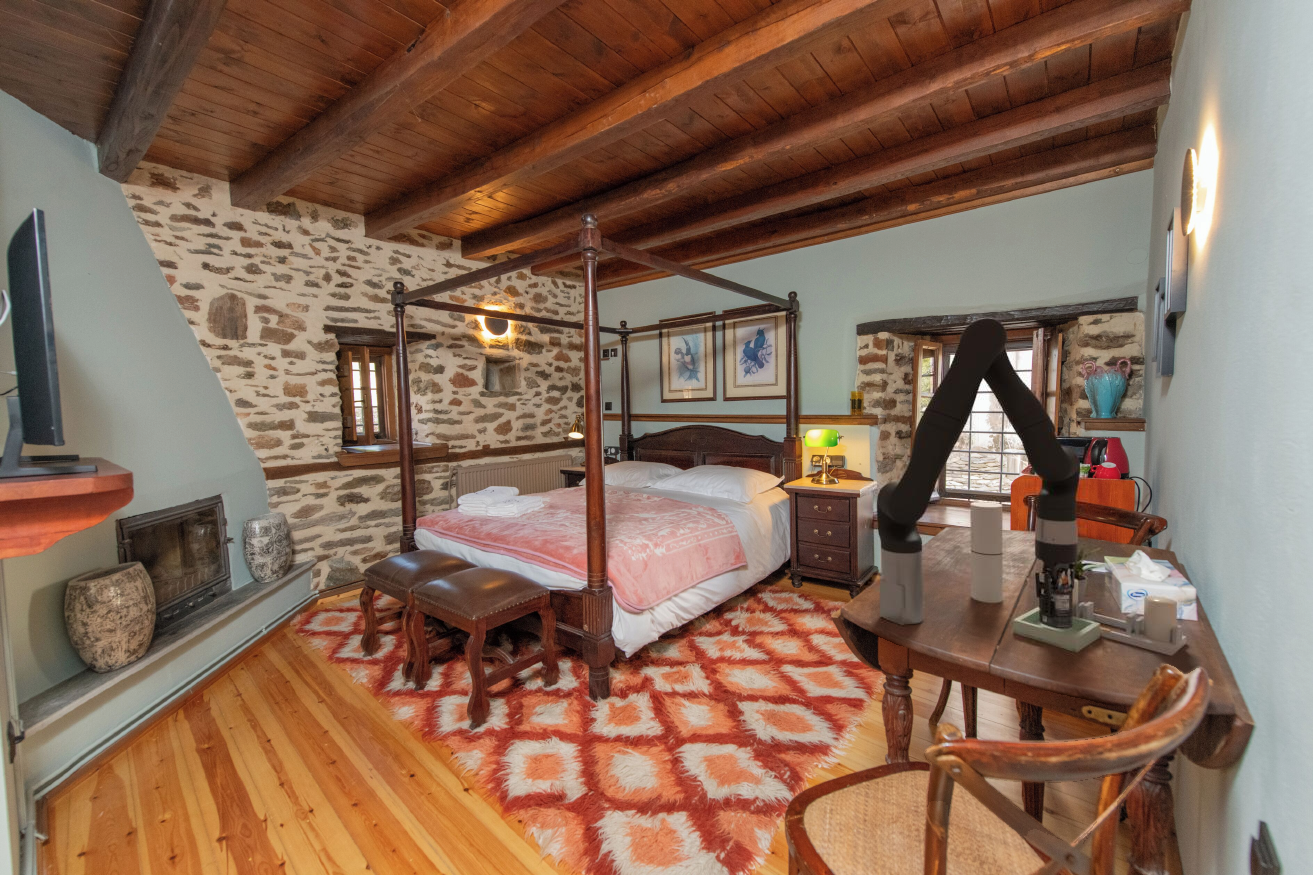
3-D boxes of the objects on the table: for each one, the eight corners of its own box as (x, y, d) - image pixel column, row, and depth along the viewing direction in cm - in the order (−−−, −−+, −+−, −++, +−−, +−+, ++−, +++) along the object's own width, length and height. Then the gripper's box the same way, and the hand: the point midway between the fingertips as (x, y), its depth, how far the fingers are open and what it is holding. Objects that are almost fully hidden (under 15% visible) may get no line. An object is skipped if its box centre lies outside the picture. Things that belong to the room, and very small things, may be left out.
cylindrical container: (971, 600, 140) (971, 506, 139) (970, 591, 147) (969, 501, 145) (1004, 604, 137) (1003, 507, 135) (1001, 594, 143) (1000, 502, 142)
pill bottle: (1047, 616, 123) (1048, 568, 122) (1078, 625, 118) (1078, 575, 117) (1033, 622, 120) (1033, 573, 119) (1063, 632, 115) (1064, 580, 114)
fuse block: (1171, 655, 108) (1172, 609, 107) (1041, 619, 127) (1041, 580, 126) (1186, 643, 112) (1186, 599, 112) (1058, 610, 132) (1058, 572, 131)
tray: (1076, 652, 111) (1076, 638, 111) (1013, 632, 121) (1013, 619, 121) (1100, 636, 117) (1100, 623, 117) (1037, 619, 127) (1037, 606, 127)
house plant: (1017, 594, 143) (1017, 534, 142) (1052, 585, 148) (1052, 527, 147) (1075, 612, 130) (1075, 546, 129) (1111, 602, 135) (1112, 539, 134)
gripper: (1061, 547, 111) (1061, 627, 112) (1090, 536, 118) (1089, 610, 119) (1021, 540, 117) (1021, 615, 118) (1051, 530, 125) (1050, 600, 126)
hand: (1055, 612), depth 119 cm, fingers closed on pill bottle, 6 cm apart
